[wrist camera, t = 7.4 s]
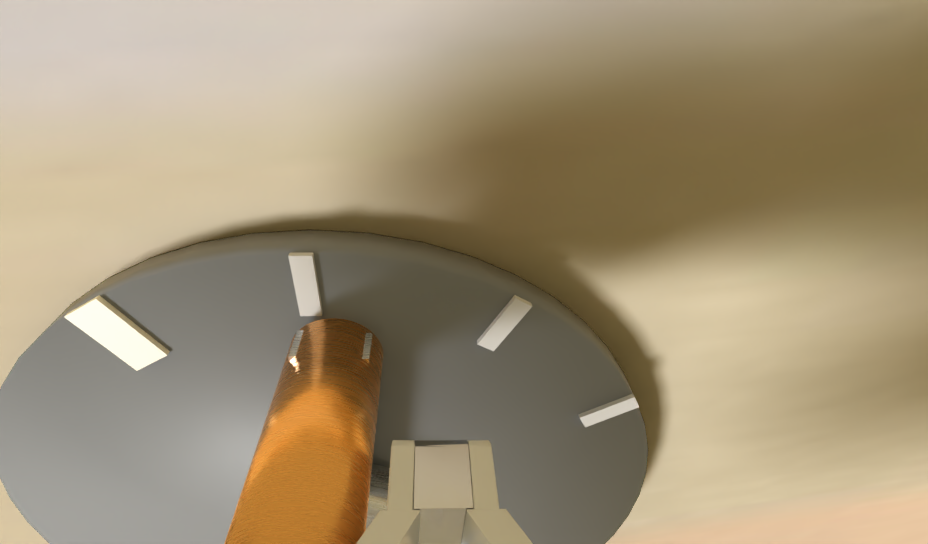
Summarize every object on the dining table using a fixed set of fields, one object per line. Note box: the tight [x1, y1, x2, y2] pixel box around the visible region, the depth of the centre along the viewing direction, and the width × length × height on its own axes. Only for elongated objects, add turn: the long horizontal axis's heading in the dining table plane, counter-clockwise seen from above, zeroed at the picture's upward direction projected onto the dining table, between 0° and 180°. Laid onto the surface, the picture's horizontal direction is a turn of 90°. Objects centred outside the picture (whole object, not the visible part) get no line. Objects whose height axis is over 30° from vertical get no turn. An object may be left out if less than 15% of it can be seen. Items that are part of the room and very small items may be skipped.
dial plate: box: [0, 230, 648, 544], centre depth 20 cm, size 24×24×1 cm
